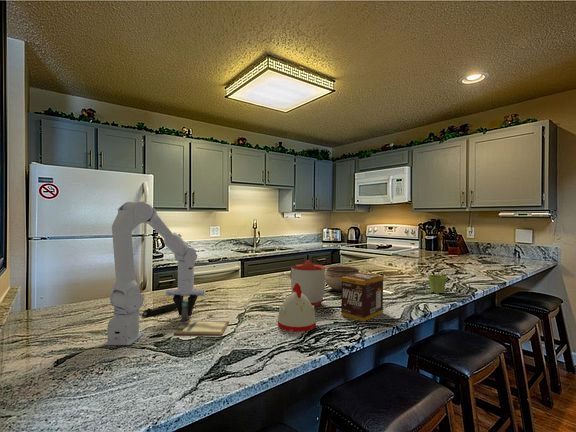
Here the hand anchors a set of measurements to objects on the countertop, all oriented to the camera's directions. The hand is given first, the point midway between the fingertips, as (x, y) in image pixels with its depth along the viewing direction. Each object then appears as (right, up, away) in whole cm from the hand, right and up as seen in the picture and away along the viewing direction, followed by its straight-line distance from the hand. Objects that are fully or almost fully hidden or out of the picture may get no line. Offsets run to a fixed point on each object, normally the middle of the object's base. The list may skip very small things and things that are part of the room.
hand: (185, 314), depth 117 cm
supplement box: (+69, -3, +8) cm, 69 cm away
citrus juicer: (+47, -3, +22) cm, 52 cm away
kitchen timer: (+42, -3, -4) cm, 42 cm away
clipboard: (+9, -2, -9) cm, 13 cm away
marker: (0, -2, 0) cm, 2 cm away
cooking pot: (+68, -3, +47) cm, 83 cm away
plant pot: (+117, -3, +44) cm, 125 cm away
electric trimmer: (-13, -2, +9) cm, 16 cm away
